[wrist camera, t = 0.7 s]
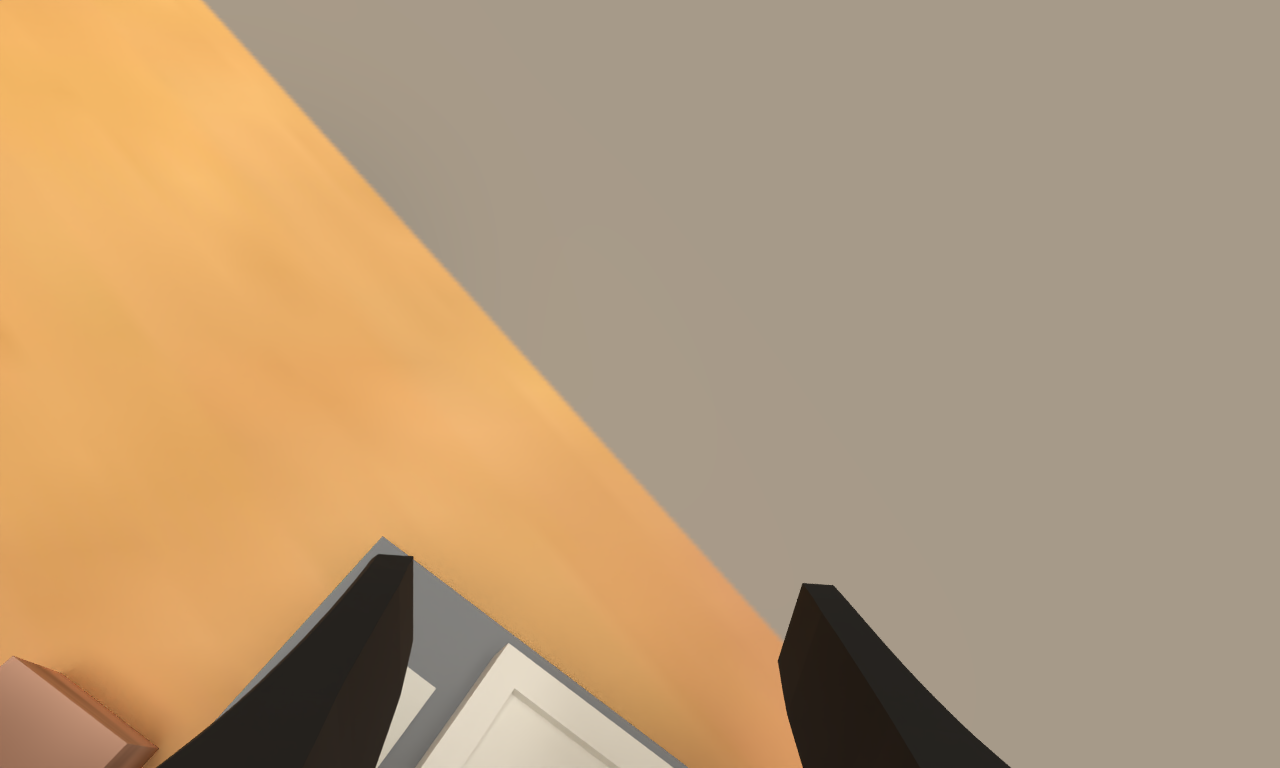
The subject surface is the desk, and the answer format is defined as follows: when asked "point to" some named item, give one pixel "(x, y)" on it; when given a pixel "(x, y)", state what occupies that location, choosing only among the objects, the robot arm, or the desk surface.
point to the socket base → (531, 725)
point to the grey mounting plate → (441, 664)
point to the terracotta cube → (60, 724)
